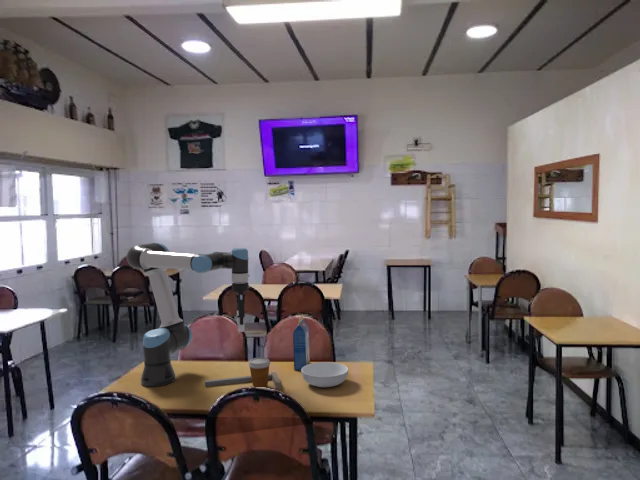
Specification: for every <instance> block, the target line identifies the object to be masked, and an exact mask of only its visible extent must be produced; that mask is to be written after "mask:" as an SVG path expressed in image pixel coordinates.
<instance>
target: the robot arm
mask: <svg viewBox="0 0 640 480" xmlns="http://www.w3.org/2000/svg"><path fill="white" fill-rule="evenodd" d="M249 260H250V259H249V250H248V249H247V248H244V247H242V248H241V247H238V248H237V247H236V248H235V247H234V248H232V249H231V252H224V251H211V252H209V253H208V254H207V253H206V254H205V253H203V254H201V253H185V252H173V251H172V252H170V250H169V249H168V247H167V246H166V245H164V244H162V243H160V242H158V243H157V242H151V243H144V244H143V243H142V244H136V245H134V246H132V247H131V248H130V249H128V251H127V253H126V261H127V263H128V265H129V266H130V267H132V268H134V269H136V270H143V273H144V275H147V276H148V280H149V283H150V286H151V290H152V292H153V298H154V299H155V305H156V308H157V311H158V315H159V319H160V322H161V323H160V326H159V328H156V329H151V330H149V331H147V332H146V333H144V334H143V340H142V346H143V362H144V367H143V371H142V374H141V377H140V384H141V385H142V386H143V387H153V388H154V387H162V386H166V385H169V384H171V383H173V382H175V381H176V372H175V370H174V367H173V365H172V362H171V361H172V360H171V359H172V358H171V355H172V354H174V353H176V352H178V351H181V350H184V349H185V348H186V347H188V346H189V345H190V343H191V342H192V338H193V332H192V329H191V328H190V326H188V325H187V324H186V323H185V321H184V320H183V319H182V318H180V316H179V313H178V309H177V305H176V301H175V297H174V295H173V290H172V287H171V283H170V280H169V276H168V273H167V270H170V269H171V270H182V271H191V272H192V271H194V272H196V273H199V274H200V273H201V274H204V273H207V272H210V271H211V272H212V271H215V270H217V271H218V270H221V269H225V270H227V269H228V270H231V282H232V283H231V291H233V292H235V293H236V294H235V299H236V325H237V326H238V327H237V328H238V332H239V333H240V332H241V333H242V332H244V333H245V331H246V329H245V328H246V327H245V325H246V324H245V317H246V315H245V314H246V313H245V299H246V295H245V294H244V292H247V291H249V289H250V287H249V284H250V283H249V278H250V277H251V275H250V274H249Z"/></svg>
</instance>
